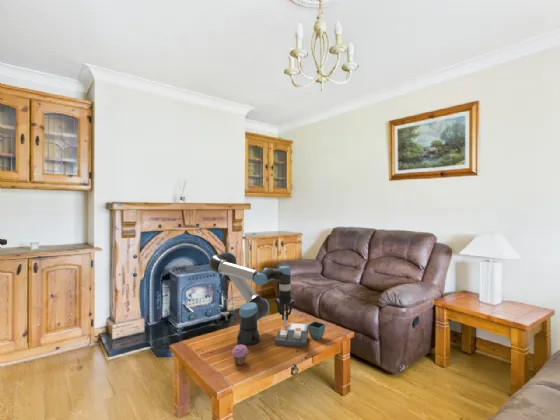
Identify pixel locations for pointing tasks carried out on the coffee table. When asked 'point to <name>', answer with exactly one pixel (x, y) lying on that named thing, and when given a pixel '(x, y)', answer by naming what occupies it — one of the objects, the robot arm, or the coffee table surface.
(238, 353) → the cupcake
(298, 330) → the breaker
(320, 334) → the flower pot
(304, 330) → the pad
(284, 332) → the block
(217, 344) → the coffee table surface
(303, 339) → the breaker panel
